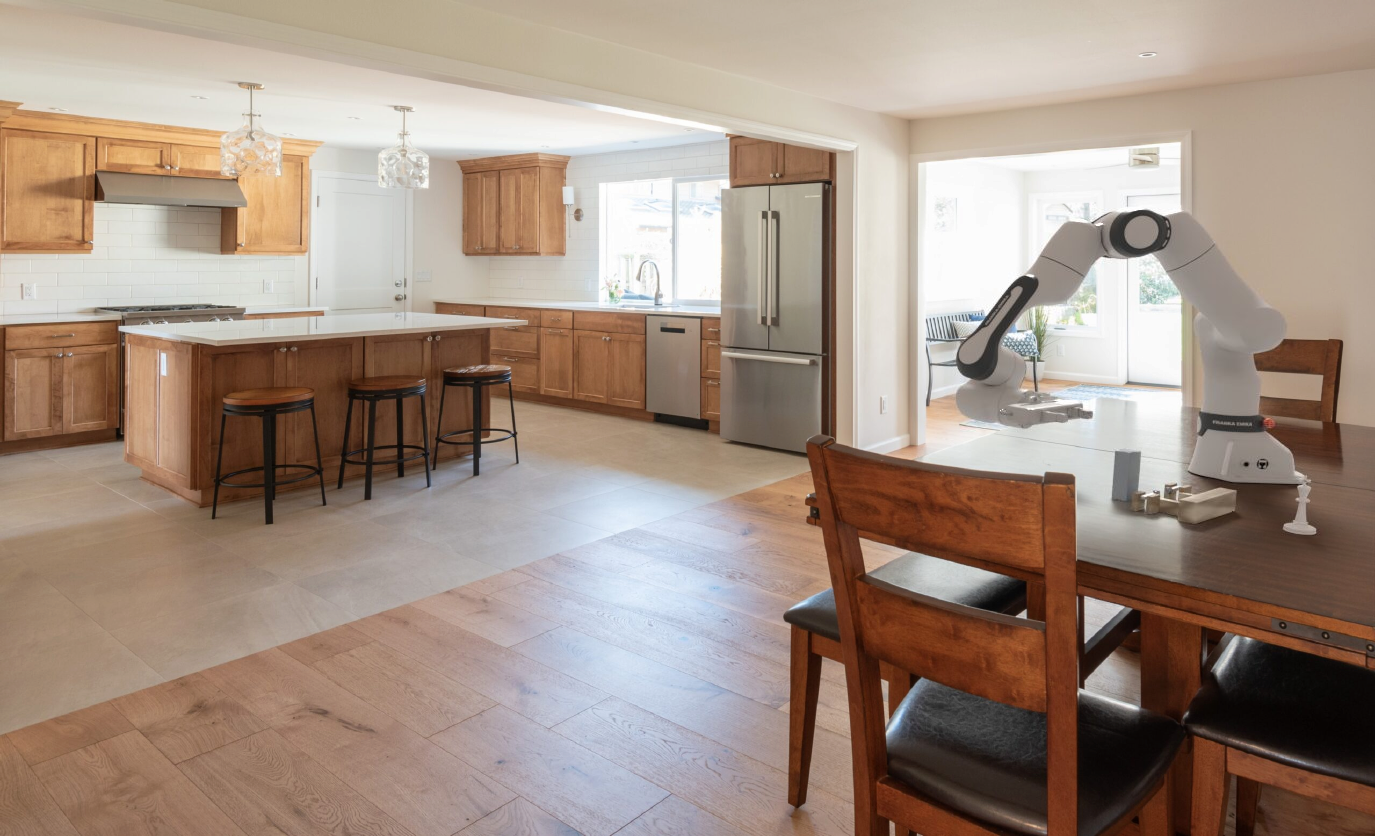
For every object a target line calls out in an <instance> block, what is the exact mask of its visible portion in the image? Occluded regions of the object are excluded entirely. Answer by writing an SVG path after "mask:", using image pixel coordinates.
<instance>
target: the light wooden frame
mask: <svg viewBox="0 0 1375 836" xmlns="http://www.w3.org/2000/svg"><path fill="white" fill-rule="evenodd" d="M1175 486H1178V483H1177V482H1172V481H1171V482H1168V483H1165V484H1164V490H1163V497H1161V494H1160V495H1159V494H1152V495H1149V496H1147V499H1146V500H1144V499H1141V496H1142V495H1146V491H1144V490H1138V492H1135V493H1132V502H1131V507H1130V508H1131V509H1130V511H1134V512H1138V511H1142V510H1145V514H1148V515H1154V514H1156V513H1157V514H1158V513H1162V514H1169V515H1171V516H1172V515H1173V516H1177V521H1179V522H1183V523H1186V524H1188V523H1189V524H1192V525H1196V524H1199V523H1202V522H1205V521H1207V520H1211V519H1214V518H1217V517H1219V516H1223V515H1227V514H1229V513H1233V512H1235V510H1236V502H1237V501H1236V500H1237V493H1238V492H1237V490H1236V489H1230V488H1224V487H1218V488H1214V489H1211V490H1207V491H1203V492H1201V493H1197V494H1193V493H1192V485H1188V484H1185V485H1180V486H1181V487H1179V490H1178V491H1174V492H1172V494H1165V487H1171V488H1172V487H1175ZM1177 493H1178V497H1177ZM1145 502H1146V503H1145ZM1232 511H1233V512H1232ZM1153 513H1154V514H1153Z"/></svg>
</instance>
